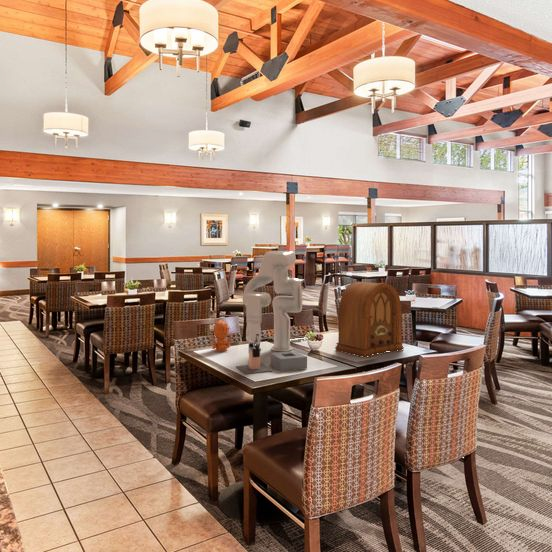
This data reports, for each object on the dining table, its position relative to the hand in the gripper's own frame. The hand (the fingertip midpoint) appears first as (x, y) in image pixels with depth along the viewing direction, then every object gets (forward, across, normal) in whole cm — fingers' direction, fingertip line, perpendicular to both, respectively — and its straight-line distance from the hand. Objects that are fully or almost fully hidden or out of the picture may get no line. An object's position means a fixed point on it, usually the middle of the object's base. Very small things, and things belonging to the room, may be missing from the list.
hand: (254, 355), depth 235 cm
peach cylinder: (+6, 0, 0) cm, 6 cm away
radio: (+7, -17, +77) cm, 79 cm away
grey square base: (+7, +1, +18) cm, 19 cm away
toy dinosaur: (+7, -47, -4) cm, 48 cm away
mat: (+7, 0, 0) cm, 7 cm away
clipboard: (+8, -67, +45) cm, 81 cm away
